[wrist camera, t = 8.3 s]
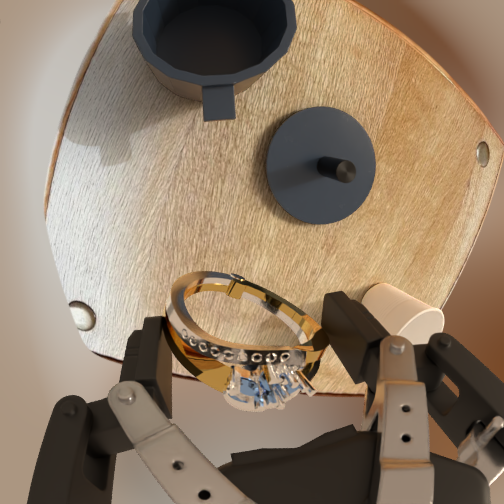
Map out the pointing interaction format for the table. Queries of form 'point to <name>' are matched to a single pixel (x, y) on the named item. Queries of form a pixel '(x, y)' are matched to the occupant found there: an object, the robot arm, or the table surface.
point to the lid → (320, 165)
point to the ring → (243, 345)
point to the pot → (212, 46)
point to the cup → (403, 313)
